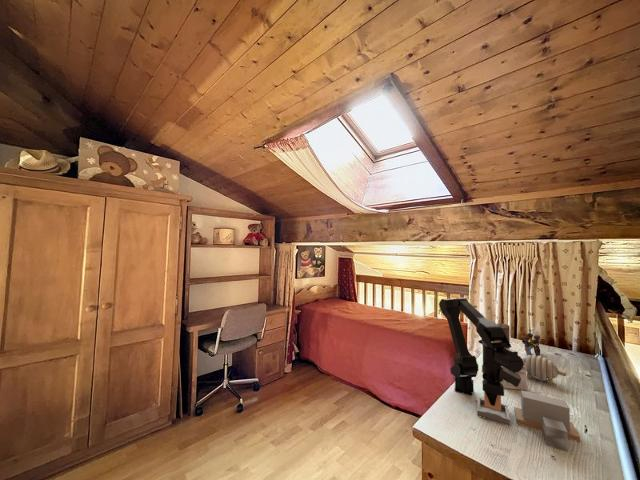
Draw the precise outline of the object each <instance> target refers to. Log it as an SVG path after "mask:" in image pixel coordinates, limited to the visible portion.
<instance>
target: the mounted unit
mask: <svg viewBox="0 0 640 480" xmlns="http://www.w3.org/2000/svg"><path fill="white" fill-rule="evenodd" d="M520 393H521V394H520V399H521V401H520V402H521V404H520V407H521V408H519V407H515V406H514V407H513V409H514V411H513V412H514V415H515V420H516V424H518V425H521V426H525V427H528V428H531V429H535V430H538V431H541V432H543V425H542V417H545V418H548V419H552V420H556V421H560V422H563V424H564V426H565V428H566V430H567V435H568V439H569V440H572V441H576V442H579V443H581V436H580V434H579V432H578V431H577V429H576V427H575V425H574V423H573V422H572V421H571V419H570V418H571V416H570V411H571V410H570V406H569V405H568V403H567V402H566V400H564V399H560V398H555V397H551V396H547V395H543V394H538V393H535V392H530V391H527V390H520Z"/></svg>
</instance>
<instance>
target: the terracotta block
mask: <svg viewBox="0 0 640 480" xmlns="http://www.w3.org/2000/svg"><path fill="white" fill-rule="evenodd" d="M483 396H484V398H483V399H484V403H485V406H486V407H489V408H493V409H496V410H500V411H501V404H502V396H500V395H497V399H496V402H495V406H493V405H491V404H490V402H489V400H488V397H487V395H486V393H485V392H484V391H483Z"/></svg>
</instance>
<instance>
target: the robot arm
mask: <svg viewBox="0 0 640 480" xmlns="http://www.w3.org/2000/svg"><path fill="white" fill-rule="evenodd" d="M438 303H439V304H438V307H439V308H440V309H439V310H440V311H441V314H442V315H443V316H444V317H445V318H446V320H447V324H448V328H449V331H450V335H451V338H452V342H453V345H454V350H455V355H454V358H453V362H454V364H453V365H452V366H451V367H450V368H449V370H450V374H451V375H453V376H454V391H455V392H457V393H461V394H465V395H469V396H473V393H474V392H475V391H474V379H473V378H477V376H478V372H479V364H478V361H477V357H476V356H475V355H473V354H472V353H471V352H470V351H469V349H468V345H467V341H466V338H465V335H464V330H463V327H462V324H461V320H460V314H461V312H462V314H463V315H464V316H465V317H466V318H467V319H468V320H469V321H470V322H471V323H472V324H473V326H475V331H476V333H477V334H478V336H479V337H480V340H478V344H480V345H482V365H481V373H482V383H481V384H482V391H483V393H484V392H485V393H486V395H487V397H488V400H489V402H490V404H491V405H493V406H495V402H496V399H497V395H500V396H501V397H504V396H505V388H504V387H503V385H502V384H501V383H500V382H501V381H503V379H504V380H505V381H507V382H509V383H511V384H513V386H515V387H518V385H519V383H520V381H521V377H520V375H519V374H518V373H516V372H519V371H521V369H522V368H523V364H524V363H523V360H522V359H523V357H521V356H520V355H519V352H518V351H517V350H514V349H511V348H512V344H511V342H510V343H509V340H508V339H507V337H506V335H505V333H504V330H503V329H502V328H501V327H500V326H499V325H497V324H498V323H496V322H494V321H492V320H490V319H488V318H486V317H485V316H484V315H483V314H482V313H481V312H480V311H479V310H477V308H476V307H474V306H473V305H472V304H471V303H470V302H469V299H467V298H466V297H456V298H442V299H440V301H439V302H438ZM491 341H502V342H497V343H493V342H491ZM509 348H510V349H509Z"/></svg>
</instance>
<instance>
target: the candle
mask: <svg viewBox="0 0 640 480" xmlns="http://www.w3.org/2000/svg"><path fill="white" fill-rule="evenodd" d="M496 324H497V325H499V326H500V327H501V328H502V329H503V330H504V333H505V335H506V337H507V339H508V340H509V343H510V344H511V342H510V337H511V336H510V325H509V324H507V323H496ZM499 342H502V341H499ZM509 349H511V348H509Z"/></svg>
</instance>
